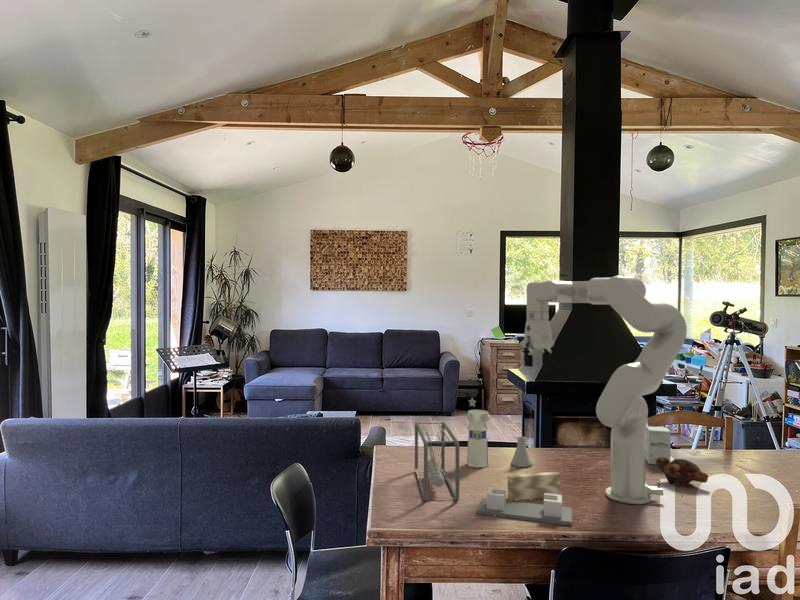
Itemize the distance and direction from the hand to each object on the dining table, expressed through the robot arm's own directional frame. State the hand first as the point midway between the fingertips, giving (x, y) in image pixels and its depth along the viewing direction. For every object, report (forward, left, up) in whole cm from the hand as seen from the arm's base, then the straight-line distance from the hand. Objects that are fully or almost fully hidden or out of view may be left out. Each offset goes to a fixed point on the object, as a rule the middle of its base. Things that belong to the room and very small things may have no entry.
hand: (537, 365), depth 179 cm
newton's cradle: (+31, +26, -37) cm, 55 cm away
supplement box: (-42, -24, -37) cm, 61 cm away
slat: (0, +27, -37) cm, 46 cm away
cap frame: (+2, +40, -37) cm, 54 cm away
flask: (+6, -5, -37) cm, 38 cm away
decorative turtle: (-45, 0, -37) cm, 58 cm away
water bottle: (+21, 0, -37) cm, 43 cm away
